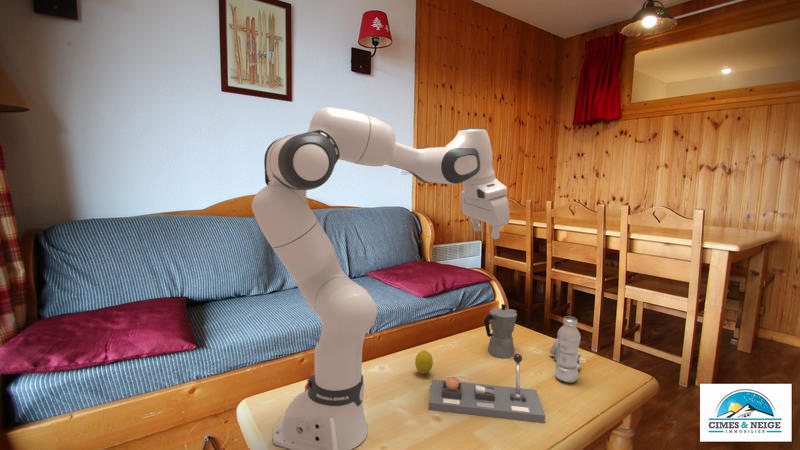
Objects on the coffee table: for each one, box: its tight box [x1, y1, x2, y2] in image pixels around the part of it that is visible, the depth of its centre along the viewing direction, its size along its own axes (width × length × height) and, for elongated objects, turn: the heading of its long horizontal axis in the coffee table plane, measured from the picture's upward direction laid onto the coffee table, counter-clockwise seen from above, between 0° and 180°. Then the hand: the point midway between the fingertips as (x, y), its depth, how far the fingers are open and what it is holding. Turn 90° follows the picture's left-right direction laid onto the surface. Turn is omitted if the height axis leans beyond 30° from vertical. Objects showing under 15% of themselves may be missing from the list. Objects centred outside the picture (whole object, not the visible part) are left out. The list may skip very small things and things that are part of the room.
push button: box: [445, 376, 460, 390], centre depth 107 cm, size 4×4×2 cm
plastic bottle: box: [554, 315, 582, 384], centre depth 118 cm, size 6×7×20 cm
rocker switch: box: [475, 385, 494, 394], centre depth 106 cm, size 5×2×1 cm, turn 82°
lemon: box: [414, 349, 434, 375], centre depth 121 cm, size 6×6×8 cm
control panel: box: [428, 378, 546, 424], centre depth 107 cm, size 30×12×4 cm, turn 81°
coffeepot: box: [483, 303, 518, 360], centre depth 135 cm, size 15×9×18 cm, turn 122°
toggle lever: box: [512, 353, 523, 399], centre depth 107 cm, size 2×2×12 cm
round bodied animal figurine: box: [548, 337, 582, 371], centre depth 129 cm, size 7×12×8 cm, turn 13°
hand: (486, 234), depth 109 cm, fingers open, 8 cm apart
